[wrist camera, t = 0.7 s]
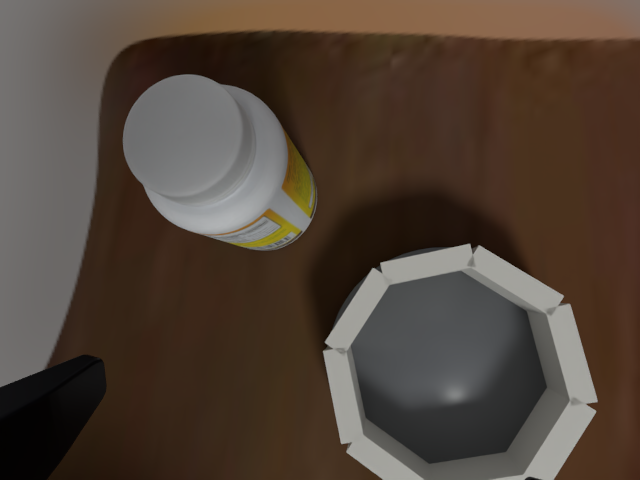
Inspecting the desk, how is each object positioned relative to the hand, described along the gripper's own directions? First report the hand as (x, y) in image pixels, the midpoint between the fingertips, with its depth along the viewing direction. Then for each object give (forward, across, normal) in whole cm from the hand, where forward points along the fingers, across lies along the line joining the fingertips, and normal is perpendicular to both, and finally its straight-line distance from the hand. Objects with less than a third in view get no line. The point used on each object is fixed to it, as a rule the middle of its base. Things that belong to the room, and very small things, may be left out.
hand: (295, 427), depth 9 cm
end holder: (+12, -5, +6) cm, 14 cm away
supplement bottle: (+15, +6, +1) cm, 16 cm away
